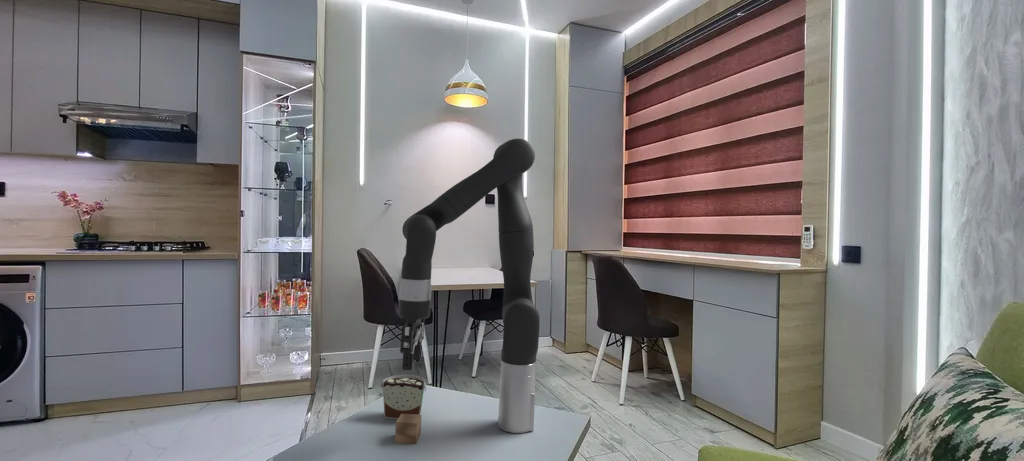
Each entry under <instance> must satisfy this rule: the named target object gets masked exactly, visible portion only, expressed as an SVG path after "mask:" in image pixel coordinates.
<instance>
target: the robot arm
mask: <svg viewBox="0 0 1024 461" xmlns="http://www.w3.org/2000/svg"><path fill="white" fill-rule="evenodd" d="M535 158H536V153H535V150H534V147H533V145H532V143H530V142H529V141H527V140H526V139H523V138H517V137H516V138H512V139H509V140H507V141H505V142H504V143H502V144H500V145H499V146H498V147H497V148H496V149H495V151H494V153H493V157H492V159H491V160H490V161H488V162H487V163H486V164H485V165H484V166H483V167H481V168H480V169H478V170H476V171H475V172H474V173H472V174H470V175H469V176H467V177H465V178H464V179H462V180H461V181H459V182H457V183H456V184H454V185H453V186H451V187H450V188H449V189H447V190H446V191H445V192H443V193H442V194H441V195H440V196H438V197H436V198H435V199H434V200H433V201H432V202H431V203H429V204H428V205H426V206H425V207H423V208H422V209H419V210H418V211H417V212H415V213H414V214H412V215H410V216H409V217H408V218H407V219H406V220H405V221H404V222H403V225H402V235H403V237H404V238H405V240H406V243H405V255H404V257H403V260H402V264H401V276H400V278H401V279H400V284H399V297H398V298H399V299H398V310H397V311H398V314H397V315H398V317H399V318H401V319H405V320H406V321H405V325H403V326H402V327H401V334H400V335H401V337H400V349H399V351H400V352H399V353H401V354H402V365H401V366H402V367H401V368H402V370H403V371H412V370H413V364H414V361H419V360H420V359H421V350H422V349H421V347H422V346H421V345H422V343H423V341H424V338H425V337H424V334H425V320H426V319H428V318H430V316H431V307H432V306H431V304H432V266H433V265H432V262H433V261H432V260H433V255H434V251H435V247H436V246H435V245H436V239H437V232H438V231H439V230H440V229H441V228H443V227H444V226H445V225H449V224H452V223H453V222H454V221H455V220H456V221H457V219H458V218H461V216H462V215H464V214H465V213H466V212H468V211H469V210H470V209H471V208H472V207H474V206H475V205H476V204H477V203H479V202H480V201H481V200H482V199H484V198H485V197H486V196H488V195H489V194H490V193H491V192H492V191H494V190H495V189H496V190H497V192H496V193H497V217H498V218H497V220H498V242H499V243H498V246H499V248H498V249H499V256H500V264H501V269H502V270H501V271H502V277H503V301H502V313H501V315H502V316H501V317H502V321H503V333H502V334H503V335H502V347H501V348H502V349H501V354H500V373H499V374H500V380H499V398H498V417H497V418H498V419H497V420H498V421H497V426H498V428H499V429H500V430H502V431H504V432H508V433H513V434H522V433H523V434H524V433H527V432H534V430H535V429H534V427H535V404H536V391H535V388H536V368H537V367H536V366H537V365H536V364H537V354H538V350H539V340H540V339H539V338H540V314H539V311H538V309H537V307H535V306H534V301H533V294H532V287H531V286H532V284H531V283H532V282H531V274H532V268H533V261H534V260H533V259H534V258H533V257H534V252H535V251H534V246H535V245H534V243H535V242H534V225H533V221H532V218H531V214H530V212H529V209H528V206H527V203H526V201H525V196H524V192H523V174H525V173H526V172H528V170H530V169H531V167H533V164H534V162H535ZM407 346H408V347H407Z"/></svg>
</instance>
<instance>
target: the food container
mask: <svg viewBox="0 0 1024 461" xmlns="http://www.w3.org/2000/svg"><path fill="white" fill-rule="evenodd" d="M380 388H382V394H383V396H382V397H383V415H384V416H383V418H384V419H394V420H398V418H399V417H400V415H401V414H417V415H421V412H422V404H423V398H424V392H426V391H427V382H426V381H425V379H424V378H423V377H421V376H418V375H413V374H412V375H411V374H401V375H400V374H398V375H392V376H389V377H386V378H384V379H382V382H381V384H380Z"/></svg>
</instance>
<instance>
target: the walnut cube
mask: <svg viewBox="0 0 1024 461" xmlns="http://www.w3.org/2000/svg"><path fill="white" fill-rule="evenodd" d="M421 430H422V414H420V415H417V414H401V415H400V417H399V418H398V419H396V421H395V436H394V443H395V444H403V443H406V444H407V445H417V443H418V441H419V440H420V437H421V435H422V434H421V433H422V432H421ZM406 444H405V445H406Z"/></svg>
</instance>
